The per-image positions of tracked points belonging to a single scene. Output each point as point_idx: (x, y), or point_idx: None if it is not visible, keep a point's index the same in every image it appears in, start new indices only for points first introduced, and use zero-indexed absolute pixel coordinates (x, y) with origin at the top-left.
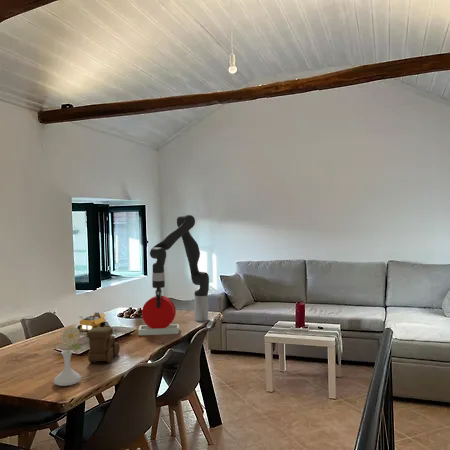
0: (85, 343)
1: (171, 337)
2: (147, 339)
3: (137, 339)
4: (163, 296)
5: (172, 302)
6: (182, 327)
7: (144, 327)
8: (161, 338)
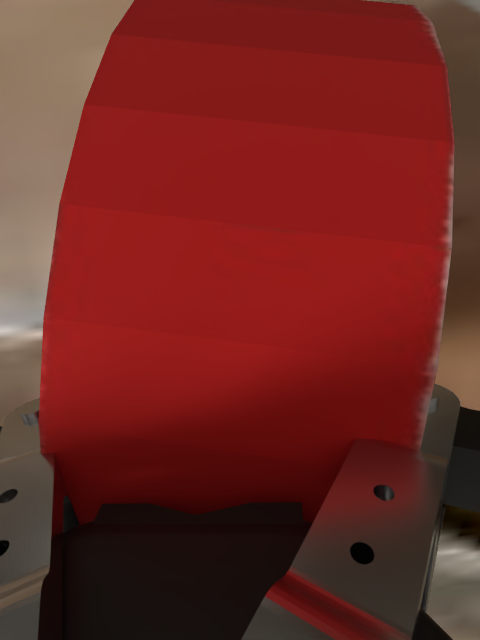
0: (453, 611)
1: (462, 103)
2: (468, 316)
3: (446, 384)
4: (113, 378)
5: (156, 15)
6: (76, 21)
7: None
8: (471, 202)
